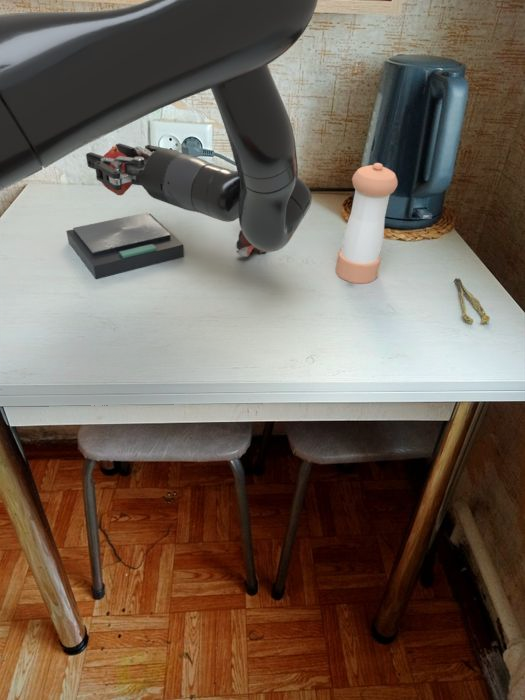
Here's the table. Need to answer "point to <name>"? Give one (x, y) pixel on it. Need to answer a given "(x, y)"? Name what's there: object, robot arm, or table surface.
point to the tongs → (474, 301)
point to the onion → (114, 154)
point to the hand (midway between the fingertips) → (103, 154)
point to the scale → (124, 244)
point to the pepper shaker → (366, 224)
